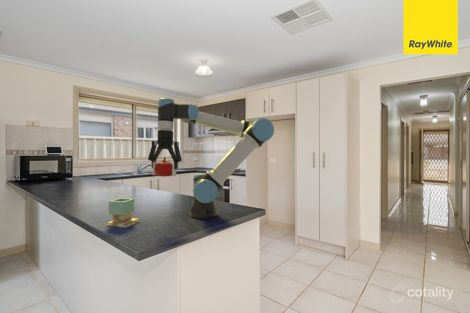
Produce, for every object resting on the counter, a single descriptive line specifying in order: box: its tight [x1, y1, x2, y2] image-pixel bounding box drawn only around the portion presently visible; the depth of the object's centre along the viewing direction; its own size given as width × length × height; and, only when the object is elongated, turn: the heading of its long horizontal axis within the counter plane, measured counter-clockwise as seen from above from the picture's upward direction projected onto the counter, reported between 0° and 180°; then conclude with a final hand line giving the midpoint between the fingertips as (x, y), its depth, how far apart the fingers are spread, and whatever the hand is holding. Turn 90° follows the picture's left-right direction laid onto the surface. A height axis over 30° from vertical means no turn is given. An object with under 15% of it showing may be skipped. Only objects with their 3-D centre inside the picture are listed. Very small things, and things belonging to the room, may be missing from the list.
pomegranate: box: [155, 156, 173, 178], centre depth 121 cm, size 10×10×9 cm
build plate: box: [107, 212, 140, 228], centre depth 120 cm, size 10×10×6 cm
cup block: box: [108, 197, 135, 215], centre depth 120 cm, size 8×8×6 cm
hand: (164, 175), depth 122 cm, fingers closed on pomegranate, 10 cm apart
